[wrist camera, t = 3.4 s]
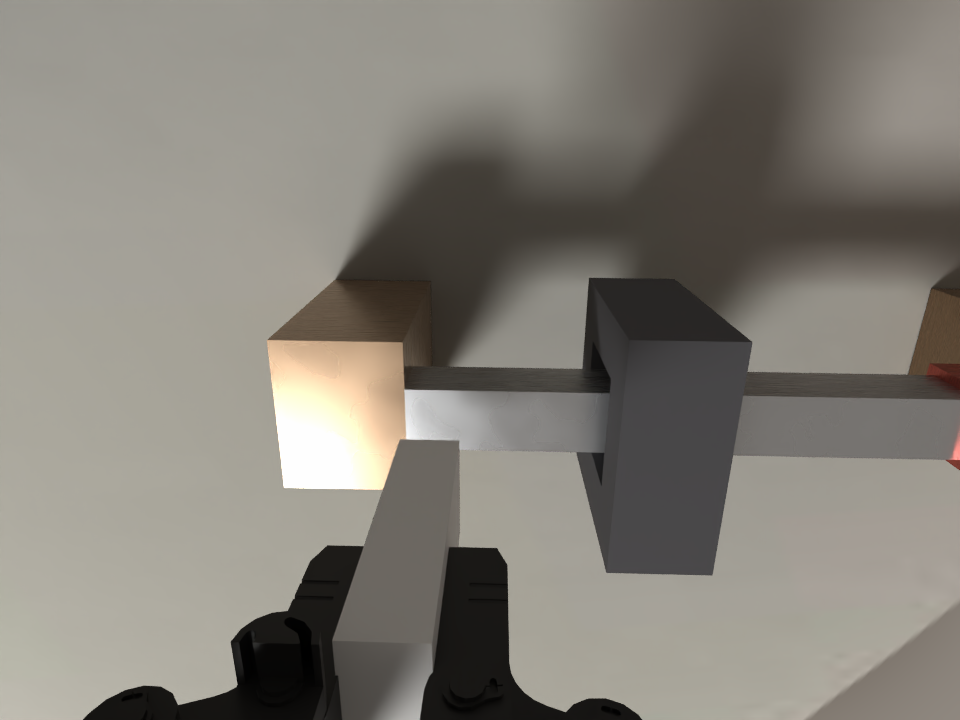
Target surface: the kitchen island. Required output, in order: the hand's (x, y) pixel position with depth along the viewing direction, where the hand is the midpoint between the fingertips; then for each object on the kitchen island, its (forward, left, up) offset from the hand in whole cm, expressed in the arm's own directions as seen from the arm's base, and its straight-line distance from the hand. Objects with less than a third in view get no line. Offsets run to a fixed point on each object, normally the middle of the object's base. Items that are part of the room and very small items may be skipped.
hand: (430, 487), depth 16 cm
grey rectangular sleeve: (0, +6, -8) cm, 10 cm away
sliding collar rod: (0, +9, -11) cm, 14 cm away
